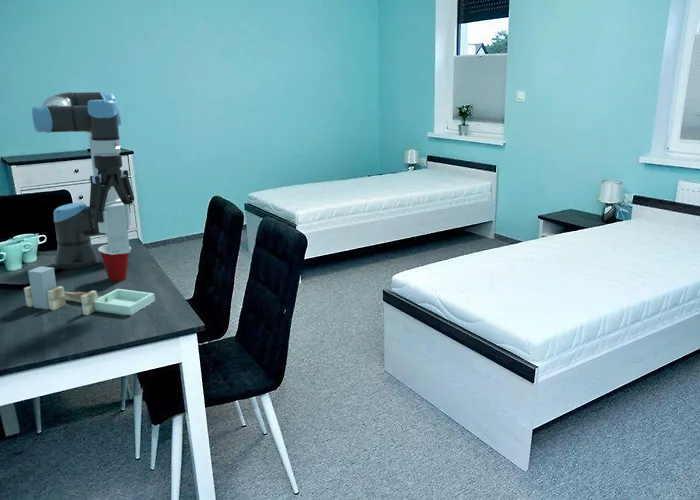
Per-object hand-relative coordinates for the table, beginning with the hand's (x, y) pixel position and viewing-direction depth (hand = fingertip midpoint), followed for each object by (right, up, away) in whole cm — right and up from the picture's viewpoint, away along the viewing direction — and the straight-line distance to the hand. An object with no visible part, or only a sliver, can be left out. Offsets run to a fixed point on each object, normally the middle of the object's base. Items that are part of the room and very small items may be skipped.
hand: (115, 228), depth 169 cm
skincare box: (0, -7, +2) cm, 7 cm away
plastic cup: (-12, -17, +32) cm, 38 cm away
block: (-25, -24, +7) cm, 35 cm away
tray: (0, -24, +7) cm, 25 cm away
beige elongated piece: (-18, -24, +7) cm, 31 cm away
